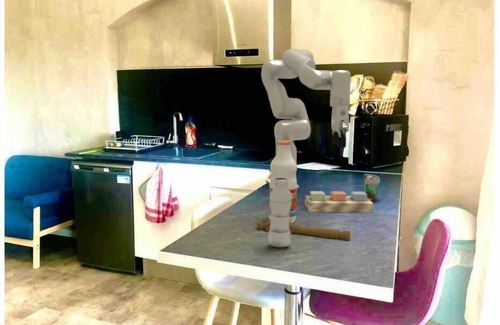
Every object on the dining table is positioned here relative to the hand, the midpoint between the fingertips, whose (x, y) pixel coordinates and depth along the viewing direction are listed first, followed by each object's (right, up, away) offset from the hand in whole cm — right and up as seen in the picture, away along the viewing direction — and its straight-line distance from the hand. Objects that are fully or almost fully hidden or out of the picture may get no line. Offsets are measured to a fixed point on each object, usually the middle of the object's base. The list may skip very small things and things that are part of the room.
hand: (338, 146), depth 180 cm
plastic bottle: (-26, -31, -47) cm, 63 cm away
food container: (+16, -22, +10) cm, 29 cm away
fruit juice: (-24, -27, -22) cm, 42 cm away
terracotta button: (-1, -22, -4) cm, 22 cm away
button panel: (-1, -24, -4) cm, 24 cm away
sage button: (-9, -22, -4) cm, 24 cm away
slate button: (+7, -22, -4) cm, 23 cm away
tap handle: (-19, -30, -36) cm, 50 cm away
